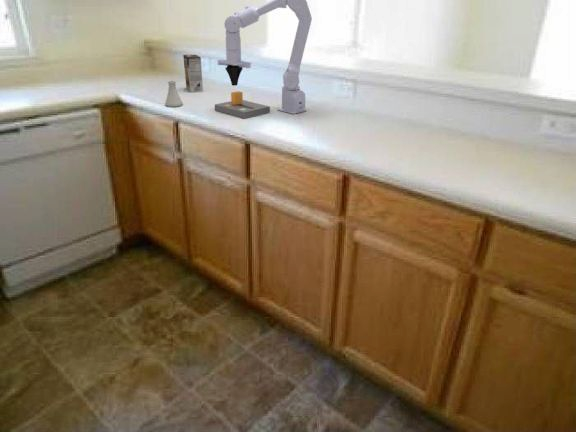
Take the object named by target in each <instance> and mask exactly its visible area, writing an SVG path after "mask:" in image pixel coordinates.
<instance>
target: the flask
mask: <svg viewBox="0 0 576 432" xmlns="http://www.w3.org/2000/svg"><path fill="white" fill-rule="evenodd" d="M176 83H177V81H176V80H168V81H167V84H168V91H167V94H166V95H167V96H166V100H165V103H164V106H166V107H170V108H177V107H182V106H183V105H184V102H183V101H182V99H181V96H180V94H179V93H178V90H177V86H176Z"/></svg>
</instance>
